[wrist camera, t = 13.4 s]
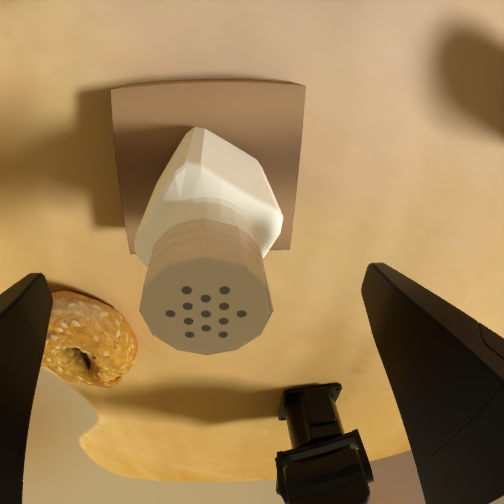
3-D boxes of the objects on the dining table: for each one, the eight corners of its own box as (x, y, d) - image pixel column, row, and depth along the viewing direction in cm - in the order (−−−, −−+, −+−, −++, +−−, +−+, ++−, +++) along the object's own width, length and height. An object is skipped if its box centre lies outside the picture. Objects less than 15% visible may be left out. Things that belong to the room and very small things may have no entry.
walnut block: (280, 224, 21) (289, 249, 18) (139, 228, 20) (130, 254, 17) (291, 81, 16) (305, 85, 13) (126, 84, 15) (110, 89, 12)
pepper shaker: (220, 224, 17) (232, 379, 9) (153, 188, 15) (102, 331, 8) (265, 162, 15) (324, 288, 7) (194, 119, 14) (167, 207, 6)
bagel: (44, 354, 26) (31, 392, 22) (26, 267, 20) (1, 308, 17) (137, 375, 28) (132, 416, 25) (143, 292, 23) (133, 341, 19)
